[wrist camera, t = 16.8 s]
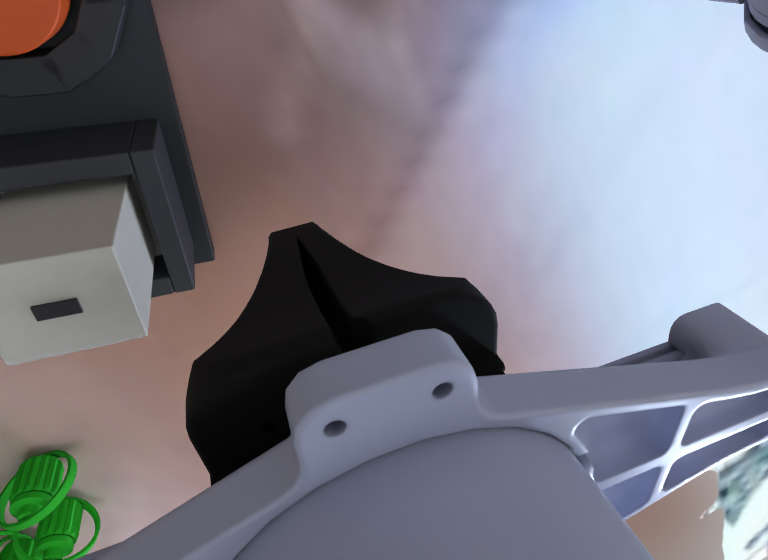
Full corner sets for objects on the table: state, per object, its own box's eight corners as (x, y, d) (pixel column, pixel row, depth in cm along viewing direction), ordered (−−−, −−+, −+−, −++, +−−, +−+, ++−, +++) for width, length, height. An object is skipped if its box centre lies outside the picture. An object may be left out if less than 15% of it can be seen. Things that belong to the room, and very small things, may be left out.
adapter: (103, -184, 16) (89, -207, 13) (214, 248, 25) (217, 280, 22) (-214, -195, 13) (-297, -224, 11) (35, 280, 23) (18, 319, 20)
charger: (129, 169, 18) (112, 247, 14) (155, 246, 20) (148, 338, 16) (9, 185, 17) (-56, 276, 13) (48, 265, 19) (5, 369, 15)
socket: (159, 109, 20) (153, 149, 17) (193, 233, 24) (195, 289, 20) (-21, 129, 19) (-73, 177, 15) (44, 258, 22) (14, 325, 18)
